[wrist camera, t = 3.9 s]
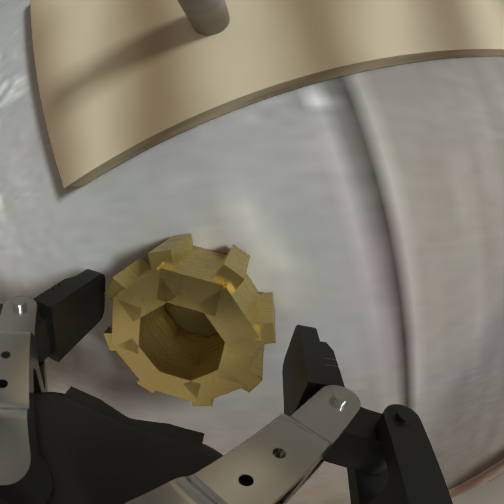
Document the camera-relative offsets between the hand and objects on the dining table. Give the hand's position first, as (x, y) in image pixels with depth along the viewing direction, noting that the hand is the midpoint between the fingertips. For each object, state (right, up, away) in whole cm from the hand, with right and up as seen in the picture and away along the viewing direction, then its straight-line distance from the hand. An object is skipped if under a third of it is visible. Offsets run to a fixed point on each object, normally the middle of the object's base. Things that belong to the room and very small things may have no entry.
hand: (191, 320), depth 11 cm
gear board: (+3, +16, -3) cm, 17 cm away
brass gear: (0, 0, +1) cm, 2 cm away
